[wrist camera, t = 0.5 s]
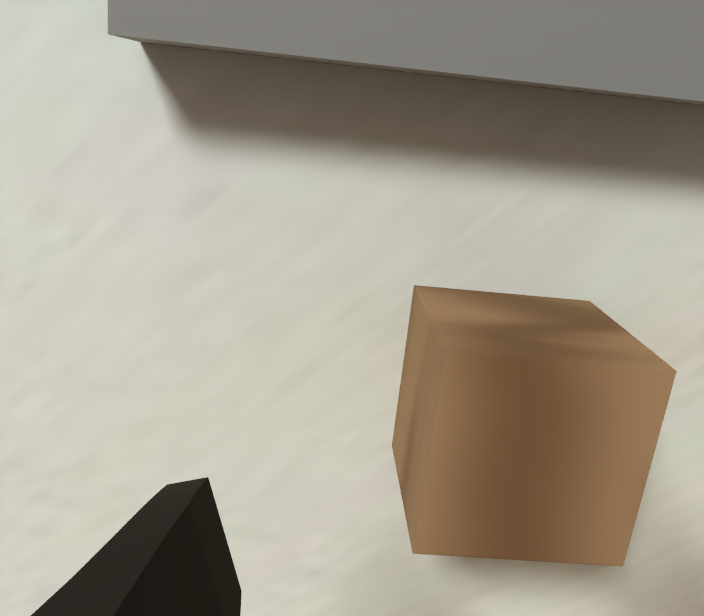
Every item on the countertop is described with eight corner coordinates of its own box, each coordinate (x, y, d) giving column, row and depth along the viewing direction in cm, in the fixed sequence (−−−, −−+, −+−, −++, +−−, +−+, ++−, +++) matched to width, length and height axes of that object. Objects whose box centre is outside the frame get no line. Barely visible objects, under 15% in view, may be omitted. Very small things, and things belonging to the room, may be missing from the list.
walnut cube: (588, 300, 19) (676, 371, 14) (553, 455, 21) (623, 566, 16) (413, 284, 19) (444, 351, 14) (391, 443, 20) (412, 553, 16)
